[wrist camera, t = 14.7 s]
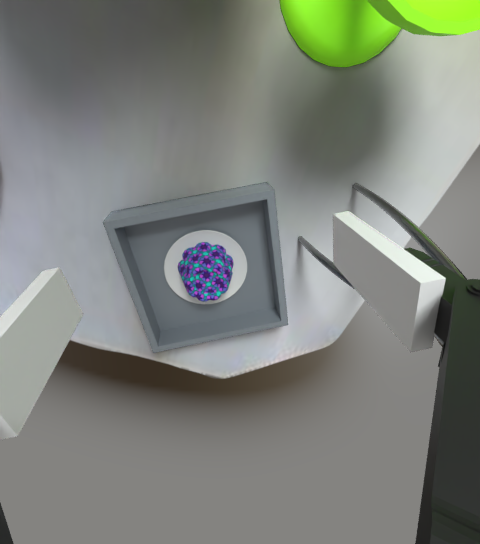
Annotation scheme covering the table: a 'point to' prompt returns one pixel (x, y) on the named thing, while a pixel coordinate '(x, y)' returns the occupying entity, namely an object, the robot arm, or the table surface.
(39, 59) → the table surface
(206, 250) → the pudding
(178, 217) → the bin
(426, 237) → the juicer
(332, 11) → the wineglass
